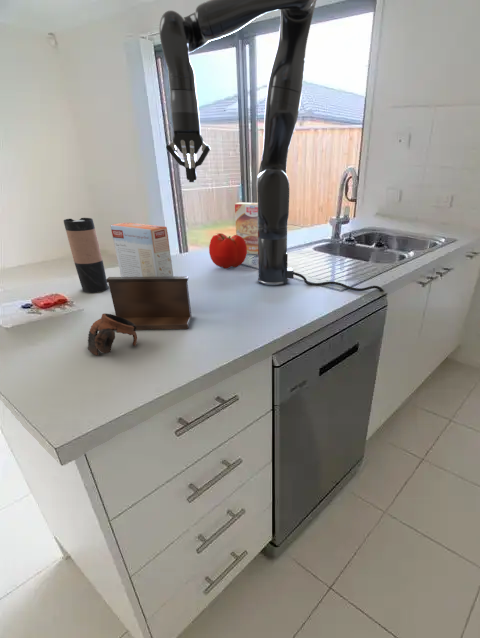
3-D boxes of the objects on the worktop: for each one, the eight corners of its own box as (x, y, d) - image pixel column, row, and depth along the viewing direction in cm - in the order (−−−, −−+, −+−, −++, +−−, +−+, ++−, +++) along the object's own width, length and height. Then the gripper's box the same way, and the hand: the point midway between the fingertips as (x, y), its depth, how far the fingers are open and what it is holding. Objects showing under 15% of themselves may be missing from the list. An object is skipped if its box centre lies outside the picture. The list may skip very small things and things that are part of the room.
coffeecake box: (236, 253, 157) (234, 203, 147) (240, 250, 163) (238, 201, 153) (270, 255, 155) (270, 204, 145) (273, 251, 161) (274, 203, 151)
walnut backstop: (192, 318, 95) (188, 276, 89) (189, 328, 89) (183, 284, 83) (118, 319, 93) (108, 276, 88) (109, 330, 87) (98, 285, 82)
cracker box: (179, 306, 102) (168, 225, 91) (163, 313, 97) (149, 229, 87) (142, 298, 107) (127, 221, 97) (125, 304, 103) (108, 224, 92)
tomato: (204, 269, 135) (201, 235, 129) (223, 260, 147) (221, 229, 141) (236, 273, 131) (234, 238, 125) (253, 264, 143) (253, 232, 137)
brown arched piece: (90, 342, 83) (102, 308, 81) (132, 358, 85) (145, 325, 84) (72, 354, 71) (86, 314, 70) (122, 371, 74) (136, 333, 73)
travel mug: (99, 294, 110) (81, 222, 100) (76, 292, 111) (56, 220, 101) (114, 286, 116) (98, 218, 106) (92, 284, 118) (75, 217, 107)
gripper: (158, 110, 99) (167, 182, 108) (207, 111, 100) (213, 183, 109) (163, 112, 105) (172, 181, 114) (210, 113, 106) (215, 181, 115)
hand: (192, 182), depth 112 cm, fingers closed
